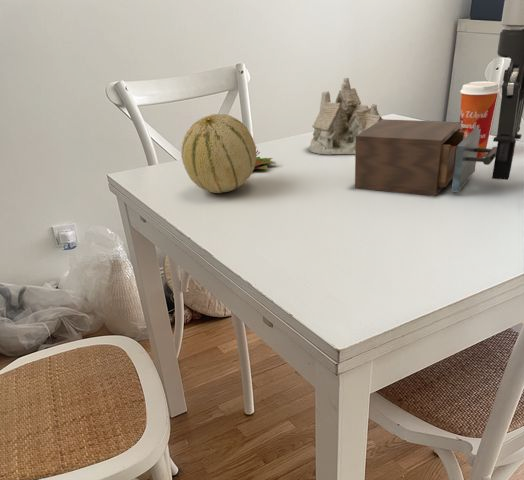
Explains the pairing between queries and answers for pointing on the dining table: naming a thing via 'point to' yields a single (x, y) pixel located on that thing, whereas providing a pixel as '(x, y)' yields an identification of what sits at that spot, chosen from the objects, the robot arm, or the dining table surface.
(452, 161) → the block
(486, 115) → the paper cup
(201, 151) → the cantaloupe
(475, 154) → the drawer
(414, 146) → the cabinet
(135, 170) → the dining table surface
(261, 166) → the lily flower
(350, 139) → the ceramic cottage
